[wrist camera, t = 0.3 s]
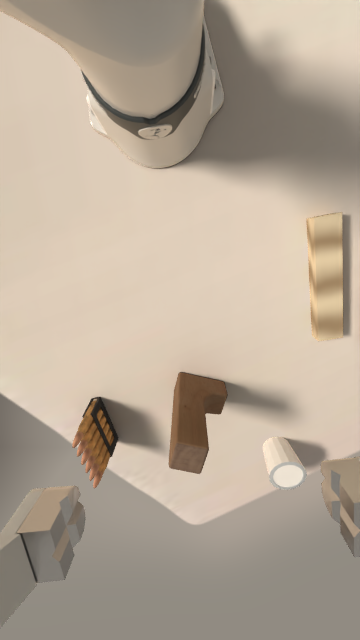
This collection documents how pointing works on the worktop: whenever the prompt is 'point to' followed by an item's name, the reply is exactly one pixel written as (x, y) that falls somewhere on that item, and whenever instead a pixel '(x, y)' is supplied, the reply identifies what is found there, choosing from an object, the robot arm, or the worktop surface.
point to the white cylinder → (283, 464)
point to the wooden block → (193, 420)
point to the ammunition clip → (96, 439)
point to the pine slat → (326, 275)
